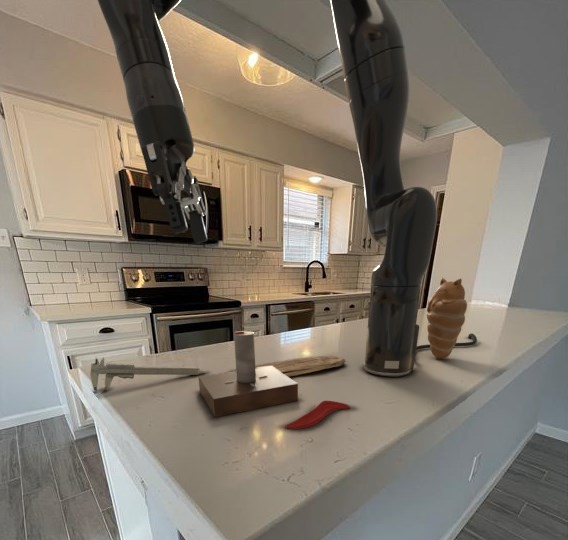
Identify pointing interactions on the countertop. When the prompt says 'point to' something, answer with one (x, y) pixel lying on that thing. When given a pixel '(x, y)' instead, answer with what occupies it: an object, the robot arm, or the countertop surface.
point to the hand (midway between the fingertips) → (191, 237)
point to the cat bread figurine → (445, 317)
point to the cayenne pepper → (317, 414)
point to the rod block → (247, 391)
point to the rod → (245, 356)
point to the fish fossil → (306, 364)
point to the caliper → (134, 371)
